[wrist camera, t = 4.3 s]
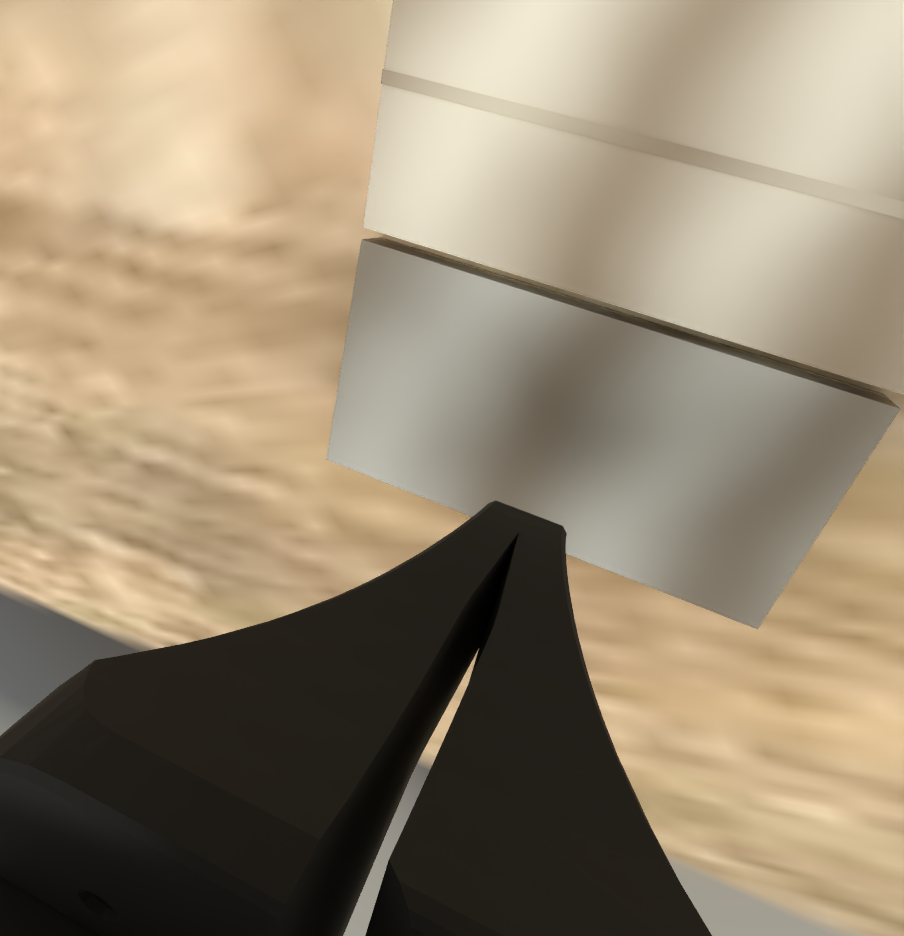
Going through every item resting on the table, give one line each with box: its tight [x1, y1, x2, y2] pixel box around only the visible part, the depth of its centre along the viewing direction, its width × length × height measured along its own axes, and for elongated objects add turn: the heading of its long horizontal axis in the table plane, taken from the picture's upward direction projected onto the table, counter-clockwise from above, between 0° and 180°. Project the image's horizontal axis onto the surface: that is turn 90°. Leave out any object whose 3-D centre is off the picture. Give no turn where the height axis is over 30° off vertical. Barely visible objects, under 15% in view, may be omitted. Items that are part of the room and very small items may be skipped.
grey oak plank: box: [326, 238, 900, 629], centre depth 17 cm, size 14×7×1 cm, turn 77°
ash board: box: [363, 0, 904, 395], centre depth 14 cm, size 14×7×1 cm, turn 77°
